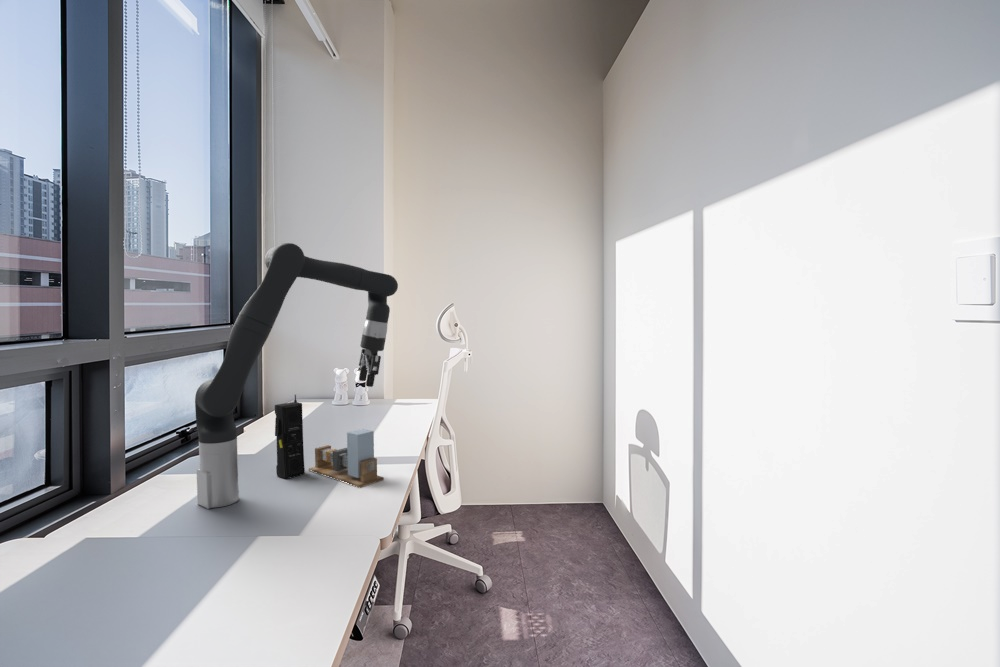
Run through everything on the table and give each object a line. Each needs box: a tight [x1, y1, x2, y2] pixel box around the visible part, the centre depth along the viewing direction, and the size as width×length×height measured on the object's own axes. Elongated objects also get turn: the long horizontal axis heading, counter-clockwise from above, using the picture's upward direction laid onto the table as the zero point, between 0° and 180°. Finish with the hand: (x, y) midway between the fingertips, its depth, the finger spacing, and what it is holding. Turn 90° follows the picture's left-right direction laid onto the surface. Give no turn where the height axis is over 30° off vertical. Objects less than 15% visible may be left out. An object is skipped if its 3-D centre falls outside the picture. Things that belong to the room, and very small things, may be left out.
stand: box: [308, 444, 384, 488], centre depth 170 cm, size 26×9×7 cm, turn 52°
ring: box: [333, 447, 348, 471], centre depth 171 cm, size 2×6×6 cm, turn 142°
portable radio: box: [274, 394, 306, 480], centre depth 169 cm, size 8×6×25 cm
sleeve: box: [346, 428, 375, 478], centre depth 165 cm, size 5×6×13 cm
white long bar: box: [320, 448, 374, 473], centre depth 170 cm, size 25×3×3 cm, turn 52°
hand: (365, 383), depth 177 cm, fingers open, 8 cm apart
